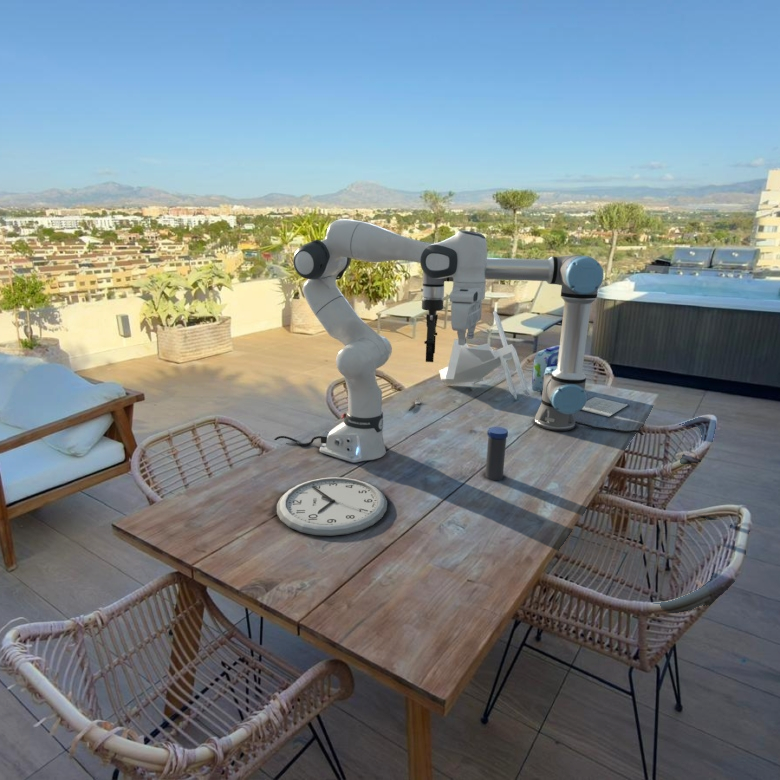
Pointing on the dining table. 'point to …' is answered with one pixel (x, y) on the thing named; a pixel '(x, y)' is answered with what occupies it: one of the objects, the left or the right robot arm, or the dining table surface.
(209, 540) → the dining table surface
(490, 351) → the white plastic object
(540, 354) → the lunch box
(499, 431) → the lid
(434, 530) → the dining table surface
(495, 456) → the jar
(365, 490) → the wall clock
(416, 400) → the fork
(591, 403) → the invitation card
